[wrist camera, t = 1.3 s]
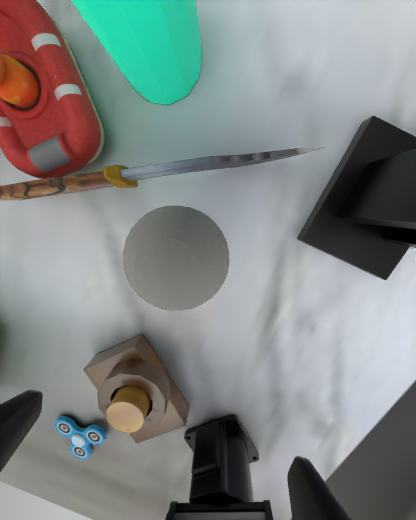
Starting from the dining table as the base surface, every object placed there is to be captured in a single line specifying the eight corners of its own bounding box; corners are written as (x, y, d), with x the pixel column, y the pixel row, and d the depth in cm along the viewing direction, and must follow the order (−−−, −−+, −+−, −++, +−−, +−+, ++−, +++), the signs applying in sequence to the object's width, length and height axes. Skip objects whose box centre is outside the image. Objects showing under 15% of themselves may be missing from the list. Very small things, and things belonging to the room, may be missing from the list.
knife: (311, 146, 17) (348, 121, 12) (311, 165, 17) (347, 147, 12) (27, 190, 19) (-39, 184, 14) (32, 206, 19) (-31, 205, 15)
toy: (102, 469, 25) (107, 459, 26) (102, 434, 23) (107, 425, 24) (54, 454, 26) (61, 445, 27) (51, 420, 24) (59, 411, 25)
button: (157, 406, 19) (150, 426, 18) (127, 418, 20) (119, 437, 18) (138, 379, 19) (130, 396, 17) (109, 392, 19) (98, 409, 18)
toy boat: (55, -1, 16) (-90, -186, 8) (124, 158, 18) (57, 124, 11) (-26, 47, 17) (-219, -80, 9) (49, 192, 19) (-60, 182, 12)
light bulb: (146, 238, 20) (73, 267, 10) (194, 192, 18) (164, 173, 9) (191, 285, 20) (164, 355, 11) (239, 243, 19) (259, 279, 9)
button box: (197, 402, 23) (193, 441, 20) (143, 423, 25) (129, 463, 21) (151, 328, 22) (136, 355, 18) (95, 354, 23) (69, 384, 19)
